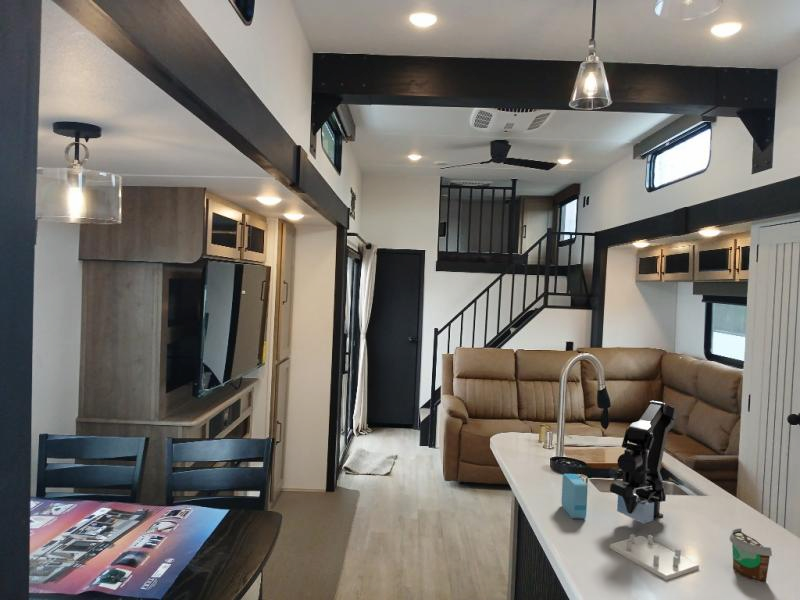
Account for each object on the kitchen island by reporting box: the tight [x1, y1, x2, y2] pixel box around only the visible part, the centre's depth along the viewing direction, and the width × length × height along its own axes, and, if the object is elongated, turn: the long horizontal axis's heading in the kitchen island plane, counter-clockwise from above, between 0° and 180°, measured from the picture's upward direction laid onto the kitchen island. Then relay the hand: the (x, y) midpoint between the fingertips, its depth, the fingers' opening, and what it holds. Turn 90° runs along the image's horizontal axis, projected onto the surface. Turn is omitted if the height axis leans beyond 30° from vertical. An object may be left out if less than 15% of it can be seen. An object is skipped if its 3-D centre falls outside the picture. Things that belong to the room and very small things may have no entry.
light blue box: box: [561, 473, 588, 520], centre depth 188 cm, size 12×4×12 cm, turn 2°
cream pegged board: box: [609, 533, 700, 581], centre depth 158 cm, size 14×19×4 cm
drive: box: [616, 493, 654, 524], centre depth 178 cm, size 5×10×6 cm, turn 27°
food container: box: [729, 528, 773, 583], centre depth 152 cm, size 12×6×10 cm, turn 5°
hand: (635, 511), depth 178 cm, fingers closed on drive, 5 cm apart
